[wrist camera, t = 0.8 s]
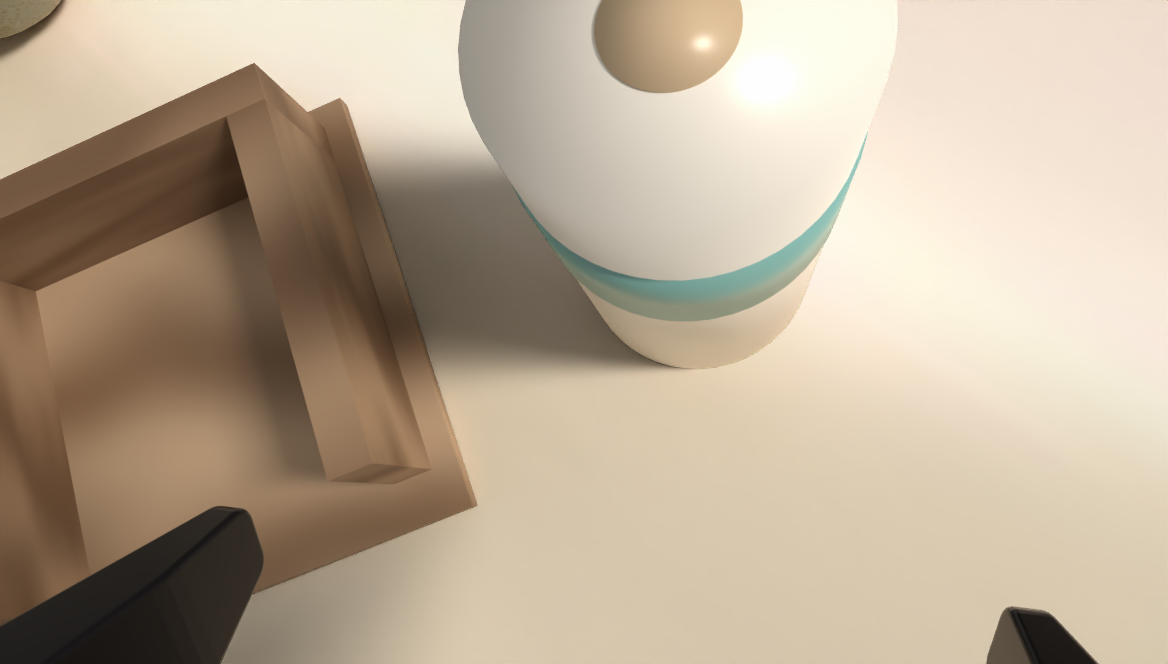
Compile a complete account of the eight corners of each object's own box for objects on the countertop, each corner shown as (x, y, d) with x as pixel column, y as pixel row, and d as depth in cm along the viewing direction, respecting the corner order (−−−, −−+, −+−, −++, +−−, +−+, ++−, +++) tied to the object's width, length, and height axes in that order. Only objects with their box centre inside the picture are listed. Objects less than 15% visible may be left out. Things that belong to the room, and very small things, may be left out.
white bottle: (703, 418, 22) (678, 330, 11) (542, 269, 24) (371, 56, 12) (861, 250, 23) (1005, -15, 11) (690, 114, 24) (658, -238, 13)
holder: (477, 505, 23) (419, 507, 19) (60, 670, 24) (-86, 708, 20) (346, 105, 26) (272, 28, 22) (-12, 266, 28) (-149, 222, 23)
